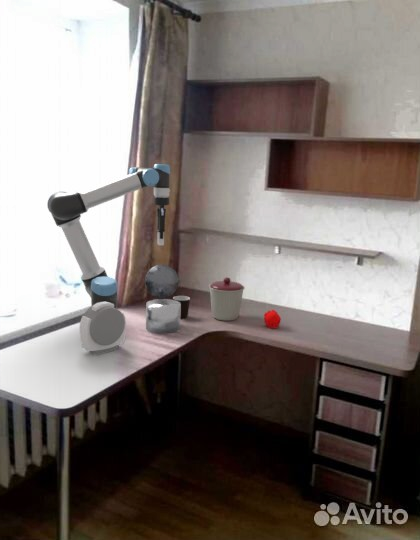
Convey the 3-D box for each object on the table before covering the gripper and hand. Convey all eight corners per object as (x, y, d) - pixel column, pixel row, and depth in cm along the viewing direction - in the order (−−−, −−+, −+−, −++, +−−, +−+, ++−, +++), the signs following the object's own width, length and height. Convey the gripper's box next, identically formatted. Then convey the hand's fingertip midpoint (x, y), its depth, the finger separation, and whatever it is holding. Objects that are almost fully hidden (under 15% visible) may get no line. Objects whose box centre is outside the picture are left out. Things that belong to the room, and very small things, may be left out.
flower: (263, 319, 240) (261, 313, 248) (269, 333, 242) (266, 327, 249) (278, 313, 239) (276, 307, 247) (284, 327, 241) (281, 321, 249)
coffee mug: (189, 320, 251) (189, 300, 248) (171, 319, 251) (172, 300, 249) (190, 313, 262) (191, 294, 260) (173, 312, 262) (174, 294, 260)
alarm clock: (116, 342, 216) (116, 297, 212) (127, 348, 210) (127, 301, 206) (78, 352, 204) (77, 304, 200) (89, 358, 198) (88, 309, 194)
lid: (145, 264, 240) (144, 264, 243) (145, 298, 241) (144, 297, 244) (178, 264, 243) (177, 264, 246) (178, 297, 244) (177, 297, 247)
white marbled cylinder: (147, 334, 228) (147, 308, 225) (144, 322, 245) (145, 298, 242) (182, 333, 231) (182, 308, 228) (177, 321, 248) (178, 297, 245)
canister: (208, 311, 266) (209, 272, 261) (242, 313, 265) (244, 274, 261) (206, 322, 248) (208, 280, 244) (243, 324, 248) (245, 282, 243)
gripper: (171, 198, 236) (170, 247, 241) (167, 195, 253) (166, 241, 257) (155, 197, 235) (154, 247, 240) (152, 195, 251) (151, 241, 256)
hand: (160, 244), depth 248 cm, fingers open, 4 cm apart
